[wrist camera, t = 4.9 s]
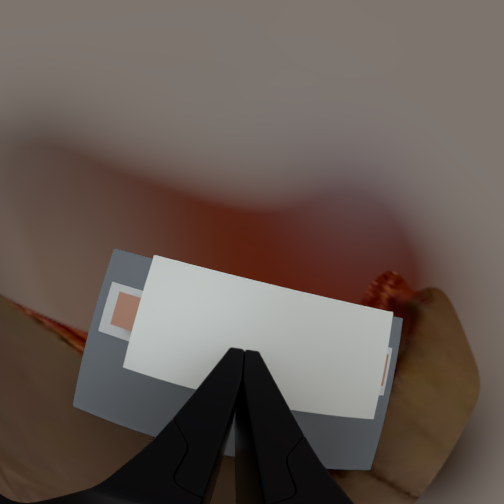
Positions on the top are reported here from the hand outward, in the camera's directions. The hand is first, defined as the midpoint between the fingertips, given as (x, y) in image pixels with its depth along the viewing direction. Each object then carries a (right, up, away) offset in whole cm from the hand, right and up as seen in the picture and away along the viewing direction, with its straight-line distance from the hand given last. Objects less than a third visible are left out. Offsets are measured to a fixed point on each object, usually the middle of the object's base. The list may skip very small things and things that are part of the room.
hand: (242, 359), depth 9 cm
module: (0, -3, +12) cm, 12 cm away
